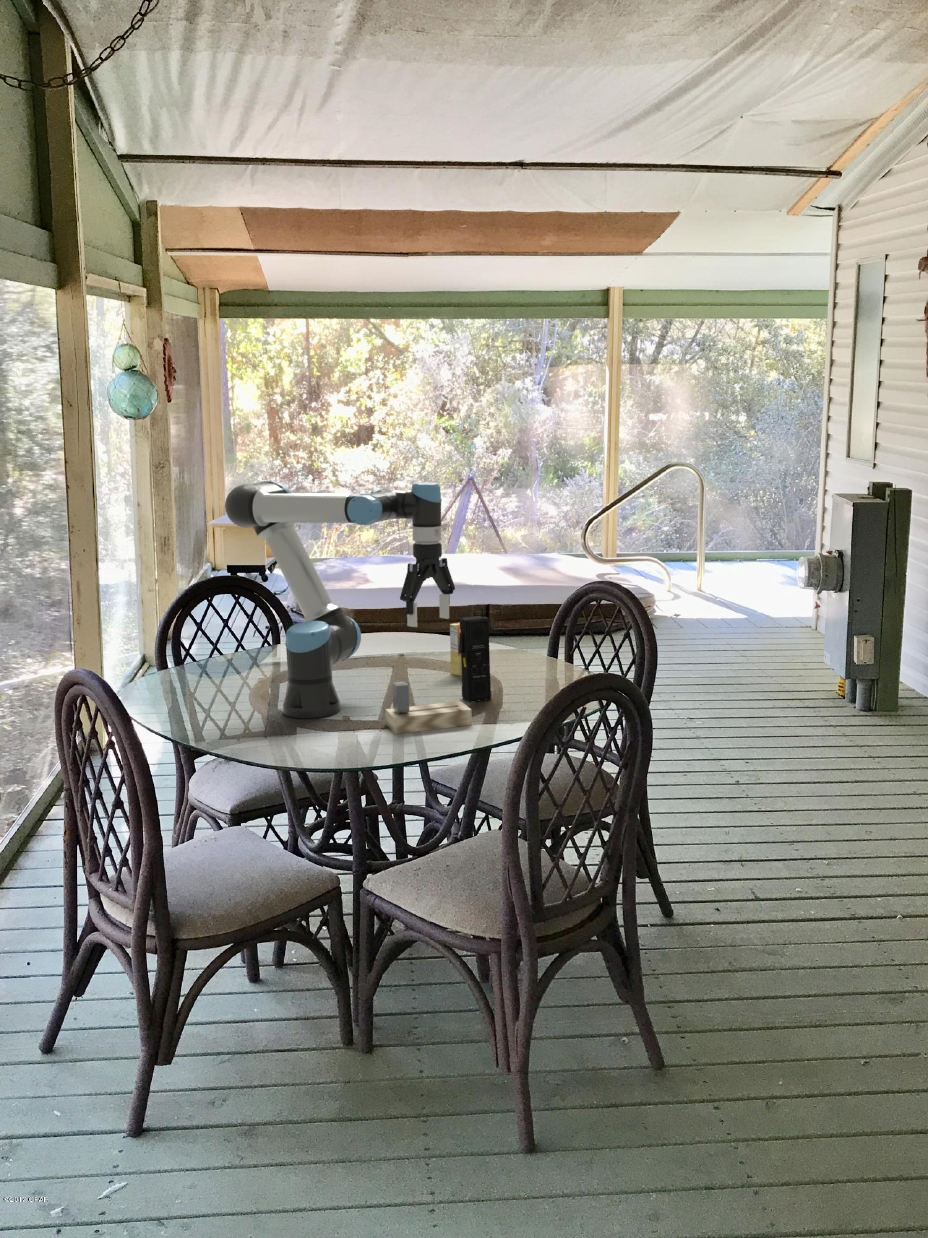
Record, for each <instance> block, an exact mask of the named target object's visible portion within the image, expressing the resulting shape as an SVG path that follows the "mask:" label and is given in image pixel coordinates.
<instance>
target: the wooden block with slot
mask: <svg viewBox="0 0 928 1238" xmlns="http://www.w3.org/2000/svg"><path fill="white" fill-rule="evenodd" d="M384 710H385V712H384V713H385V725H386V727H388V728H389V729H390V730H391V731H392V732H393V733H394V734H397V735H398V734H405V733H413V732H420V731H422V732H423V731H430V730H437V729H446V728H447V729H449V728H455V727H456V728H457V727H464V726H472V725H473V724H472V723H473V722H472V721H473V719H472V717H473V716H472V713H473V712H472V709H471V708H470V707H469V706H467V705H466V704H465V703H464V702H462V701H461V700H458V701H449V702H439V703H438V702H437V703H429V704H421V705H413V706H409V712H406V713H397V712H396V711H395V710H394V707H393V708H386V709H384Z"/></svg>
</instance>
